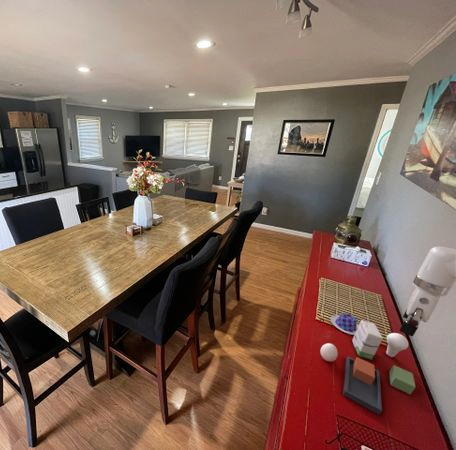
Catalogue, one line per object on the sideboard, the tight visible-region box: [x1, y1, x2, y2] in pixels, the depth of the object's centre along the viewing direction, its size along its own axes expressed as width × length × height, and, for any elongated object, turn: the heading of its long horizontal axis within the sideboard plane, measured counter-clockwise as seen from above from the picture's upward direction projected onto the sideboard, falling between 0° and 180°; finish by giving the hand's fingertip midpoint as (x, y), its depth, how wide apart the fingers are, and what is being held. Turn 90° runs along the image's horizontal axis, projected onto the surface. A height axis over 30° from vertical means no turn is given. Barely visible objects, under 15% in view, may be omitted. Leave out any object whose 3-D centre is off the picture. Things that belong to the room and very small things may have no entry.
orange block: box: [353, 356, 376, 385], centre depth 88 cm, size 5×6×4 cm
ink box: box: [351, 319, 384, 361], centre depth 98 cm, size 9×5×12 cm, turn 157°
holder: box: [342, 356, 383, 415], centre depth 86 cm, size 10×18×2 cm, turn 141°
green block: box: [388, 365, 416, 395], centre depth 86 cm, size 5×6×4 cm
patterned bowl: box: [330, 312, 359, 336], centre depth 111 cm, size 12×12×5 cm
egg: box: [319, 342, 339, 362], centre depth 94 cm, size 5×5×8 cm
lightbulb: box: [385, 332, 410, 358], centre depth 95 cm, size 6×6×11 cm
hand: (407, 326), depth 81 cm, fingers open, 9 cm apart
